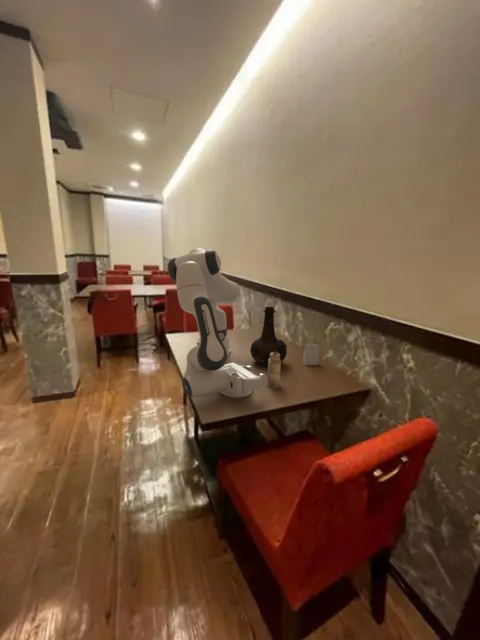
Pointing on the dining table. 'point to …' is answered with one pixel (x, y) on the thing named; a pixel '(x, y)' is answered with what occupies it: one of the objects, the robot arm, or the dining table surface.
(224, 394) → the cream plate
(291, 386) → the dining table surface
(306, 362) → the white box
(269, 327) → the glass bottle
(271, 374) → the pepper mill
